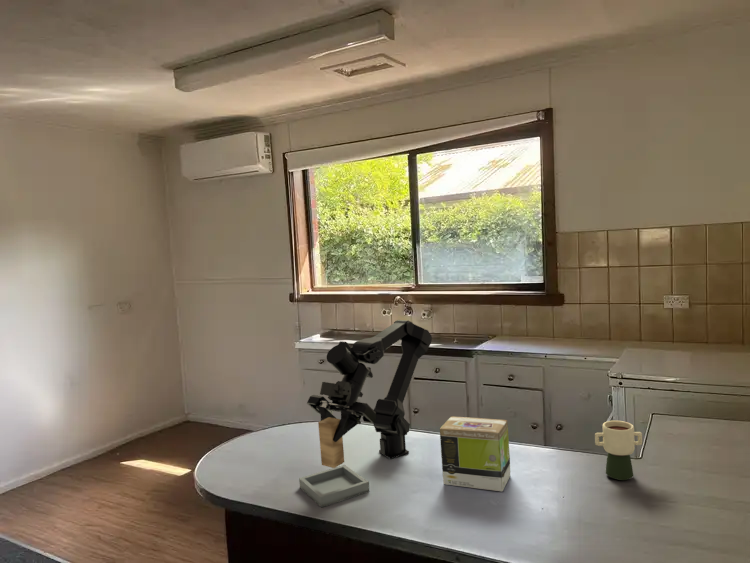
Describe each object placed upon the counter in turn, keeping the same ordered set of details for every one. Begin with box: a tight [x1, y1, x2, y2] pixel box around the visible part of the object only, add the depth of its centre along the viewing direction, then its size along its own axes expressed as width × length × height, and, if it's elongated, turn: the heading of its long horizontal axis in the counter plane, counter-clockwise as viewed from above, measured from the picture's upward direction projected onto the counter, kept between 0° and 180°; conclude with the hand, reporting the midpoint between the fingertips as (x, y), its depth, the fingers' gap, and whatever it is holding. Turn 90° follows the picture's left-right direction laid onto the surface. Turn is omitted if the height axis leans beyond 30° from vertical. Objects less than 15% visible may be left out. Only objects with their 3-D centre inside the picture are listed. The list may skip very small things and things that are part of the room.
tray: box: [299, 464, 370, 508], centre depth 145 cm, size 13×13×2 cm
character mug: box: [594, 420, 643, 481], centre depth 141 cm, size 11×7×13 cm, turn 82°
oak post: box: [317, 417, 345, 469], centre depth 144 cm, size 4×4×11 cm
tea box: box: [439, 415, 511, 492], centre depth 144 cm, size 15×10×15 cm, turn 65°
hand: (327, 439), depth 142 cm, fingers closed on oak post, 4 cm apart
